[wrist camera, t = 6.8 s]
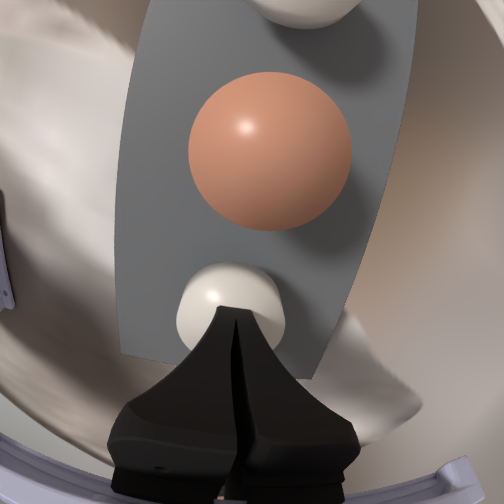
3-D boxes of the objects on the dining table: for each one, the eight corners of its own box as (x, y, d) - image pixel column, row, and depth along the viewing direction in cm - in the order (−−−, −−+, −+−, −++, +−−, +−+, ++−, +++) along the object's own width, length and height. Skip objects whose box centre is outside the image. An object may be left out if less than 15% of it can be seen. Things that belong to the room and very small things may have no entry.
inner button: (266, 332, 15) (271, 369, 13) (183, 320, 15) (174, 356, 12) (287, 258, 14) (297, 289, 11) (190, 242, 13) (179, 271, 11)
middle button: (310, 215, 11) (329, 242, 9) (192, 194, 11) (178, 217, 8) (336, 101, 9) (366, 97, 7) (213, 75, 9) (204, 59, 6)
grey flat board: (306, 358, 19) (311, 379, 18) (129, 333, 18) (121, 353, 16) (403, -28, 9) (419, -39, 7) (195, -77, 8) (190, -95, 6)
